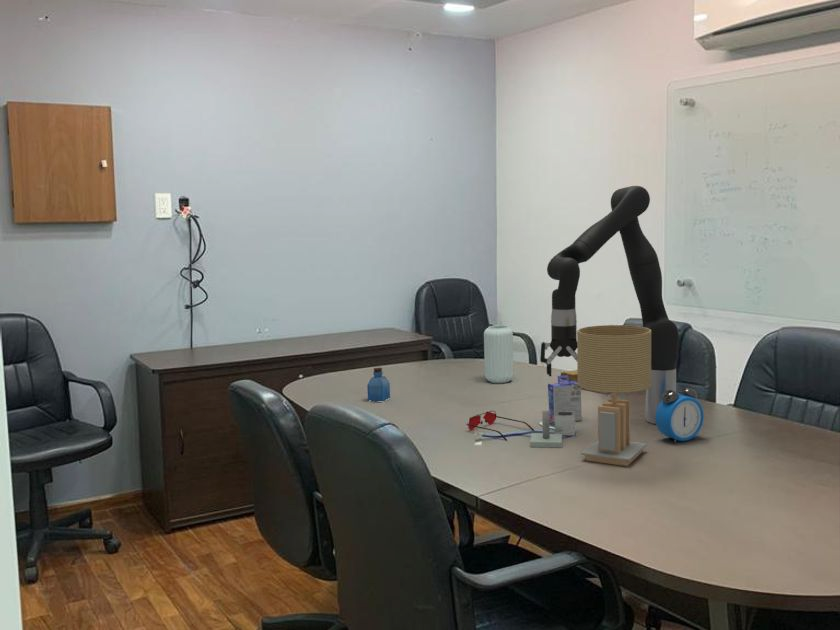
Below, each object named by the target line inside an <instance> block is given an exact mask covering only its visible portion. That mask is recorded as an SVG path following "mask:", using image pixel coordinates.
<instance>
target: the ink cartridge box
mask: <svg viewBox="0 0 840 630" xmlns="http://www.w3.org/2000/svg"><path fill="white" fill-rule="evenodd" d="M563 377H564V378H567V380H560V378H563ZM547 390H548V391H547V394H548V395H547V396H548V411H549V421H551V422H552V423H553V424H555V411H575V422H577V421H582V420H583V419H582V416H583V415H582V414H583V413H582V412H583V411H582V388H581V387H580V386H579V385H578V382H576V381H570V382H569V378H568V375H563V376H561V375H557V382H553V383H548V384H547Z"/></svg>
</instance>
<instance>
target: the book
mask: <svg viewBox="0 0 840 630" xmlns="http://www.w3.org/2000/svg"><path fill="white" fill-rule="evenodd" d="M563 375H568V378H569V382H570V381H576V382H578V370H577V369H576V370H568V371H562V372H560V376H563ZM560 380H567V378H564V377H563V378H560ZM581 391H586V392H590V393H591V392H592V393H595V394H601V395H603V396H604V395H605V396H610V395H611V396H612V393H604V392H596V391H590V390H586V389H583V388H581Z"/></svg>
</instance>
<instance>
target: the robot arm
mask: <svg viewBox="0 0 840 630" xmlns="http://www.w3.org/2000/svg"><path fill="white" fill-rule="evenodd" d="M650 202H651V197H650V193H649V192H648V190H647V189H646V188H644V187H643V186H641V185H631V186H626V187H622V188H618V189H616V190H615V191H614V192H613V193H612V195H611V198H610V208H611V211H610V212H609V213H608V214H606V215H605V216H604V217H602V218H601V219H600V220H598V221H597V222H595V223H594V224H592V225H591V226H589V227H588V228H587V229H586V230H584V232H582V234H581V235H579V236H577V238H576V239H575V240H574V241H573V243H571V244H570V245H569V246H567V247H565V248H564V249H563V250H561V251H560V252H558V253H557V254H555V255H554V256H553V257H552V258H551V259H550V261H548V264H547V267H546V271H547V275H548V277H550V278H551V279H552V280H555V281H558V286H557V288H556V289H554V290H553V291H552V293H551V314H550V327H551V329H550V330H551V331H550V332H551V333H550V335H551V339H550V340H551V341H550V342H545V341H541V343H540V363H543V364H545V365H546V374H547V376H549V377H552V362H553V361H554V360H555V358H556V357H559V358H562V357H566V358H570V357H571V356H572V357H573V359H574V360H575V361H576V362H577V330H578V328H577V325H578V324H577V323H578V322H577V312H576V311H577V310H576V292H577V290H578V285H579V281H580V277H581V276H580V275H581V271H580V270H581V269H580V265H579V264H583V263H587V261H589V260H590V259H591V258H593V257H594V256H595V254H597V253H598V251H599V250H600V249H602V247H603V246H605V245H606V243H607V242H608V241H609V240H610V239H612V238H613V237H614V236H615V235H616V234H617V233H618V232H619V234H620V237H621V242H622V245H623V249H624V253H625V257H626V260H627V261H626V262H627V266H628V270H629V274H630V279H631V281H632V282H631V283H632V285H633V287H634V292H635V295H636V298H637V300H638V304H639V308H640V314H641V315H640V316H641V320H642V327H644V328H648V329H650V330H651V387H650V388H648V389H646V390H645V421H646V422H647V423H651V424H655V425H657V424H656V411H657V408H658V406H659V404H660V403H661V401H662V395H663V393H665V392H666V391H668V390H674V391H676V392H677V362H678V360H679V344H680V343H679V340H680V339H679V328H678V327H677V325H676V323H675V322H674V321H672V320H671V319H670V318H669V316H668V314H667V311H666V308H665V305H664V304H665V303H664V301H663V300H664V299H663V277H662V269H661V266H660V261H659V258H658V254H657V252H656V250H655V248H654V247H653V245H652V244H651V243H650V241H649V240H648V238H647V237H646V235H645V234H644V232H643V230H642V228H641V225H640V220H639V216H641V215H642V214H644V213H645V212H646V211H647V210H648V208H649V205H650ZM548 348H550V349H551V350H552V352H551V354H550V355H549V357H548V358H546V357H545V356H546V351H547V350H548ZM576 364H577V363H576ZM576 370H578V364H577V369H576Z"/></svg>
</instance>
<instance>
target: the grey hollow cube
mask: <svg viewBox="0 0 840 630" xmlns="http://www.w3.org/2000/svg"><path fill="white" fill-rule="evenodd" d="M554 434H562V436H569V437H571V436H576V421H575V411H555V423H554Z"/></svg>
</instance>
